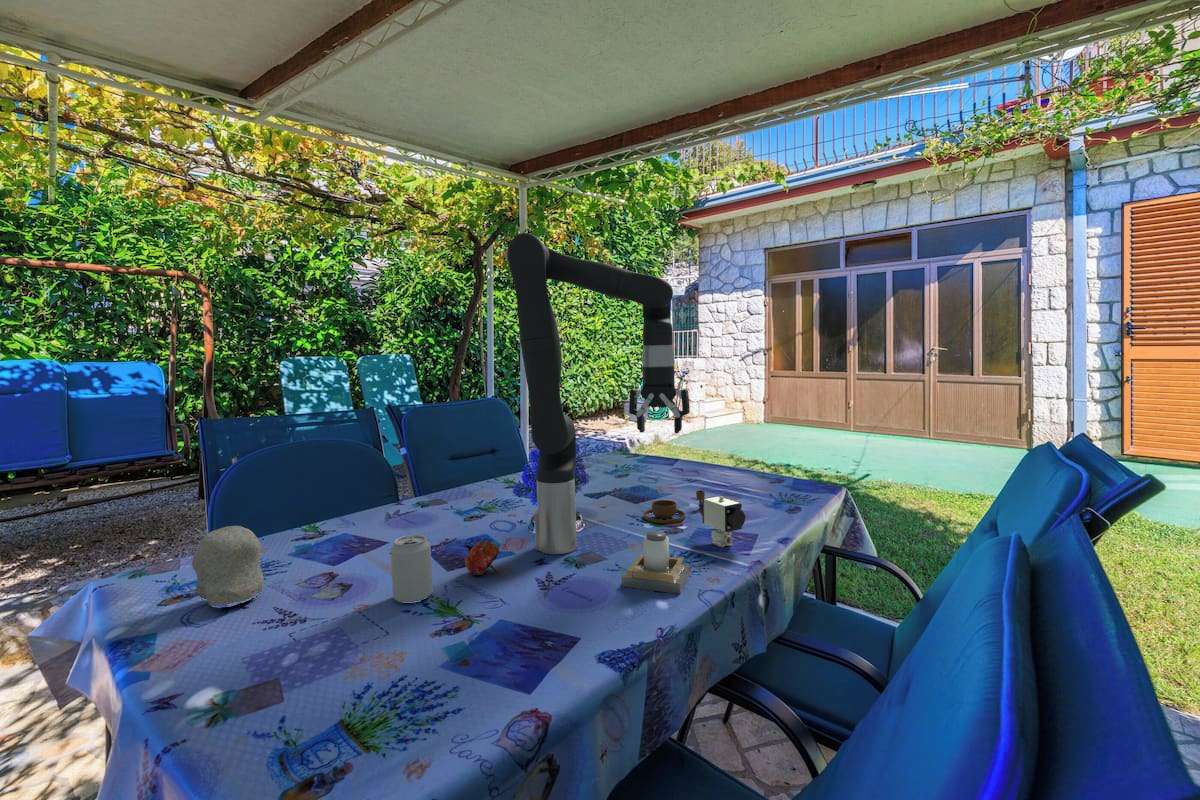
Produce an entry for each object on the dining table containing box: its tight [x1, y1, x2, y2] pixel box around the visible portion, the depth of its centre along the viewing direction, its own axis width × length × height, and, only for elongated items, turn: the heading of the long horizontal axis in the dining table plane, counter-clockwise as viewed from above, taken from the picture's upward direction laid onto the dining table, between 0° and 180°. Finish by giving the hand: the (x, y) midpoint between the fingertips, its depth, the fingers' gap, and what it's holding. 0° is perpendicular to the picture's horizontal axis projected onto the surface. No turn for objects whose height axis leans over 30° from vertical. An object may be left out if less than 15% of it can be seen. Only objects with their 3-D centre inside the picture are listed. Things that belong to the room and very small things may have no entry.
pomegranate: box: [463, 540, 501, 576], centre depth 124 cm, size 7×7×10 cm
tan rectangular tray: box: [621, 553, 691, 595], centre depth 117 cm, size 12×10×4 cm
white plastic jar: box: [643, 530, 670, 573], centre depth 117 cm, size 5×5×8 cm
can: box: [390, 534, 434, 602], centre depth 112 cm, size 8×8×12 cm
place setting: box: [642, 490, 705, 527], centre depth 162 cm, size 18×20×6 cm
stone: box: [191, 525, 265, 606], centre depth 111 cm, size 11×11×15 cm
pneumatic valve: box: [698, 495, 746, 549], centre depth 138 cm, size 6×12×12 cm, turn 29°
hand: (659, 432), depth 135 cm, fingers open, 8 cm apart
